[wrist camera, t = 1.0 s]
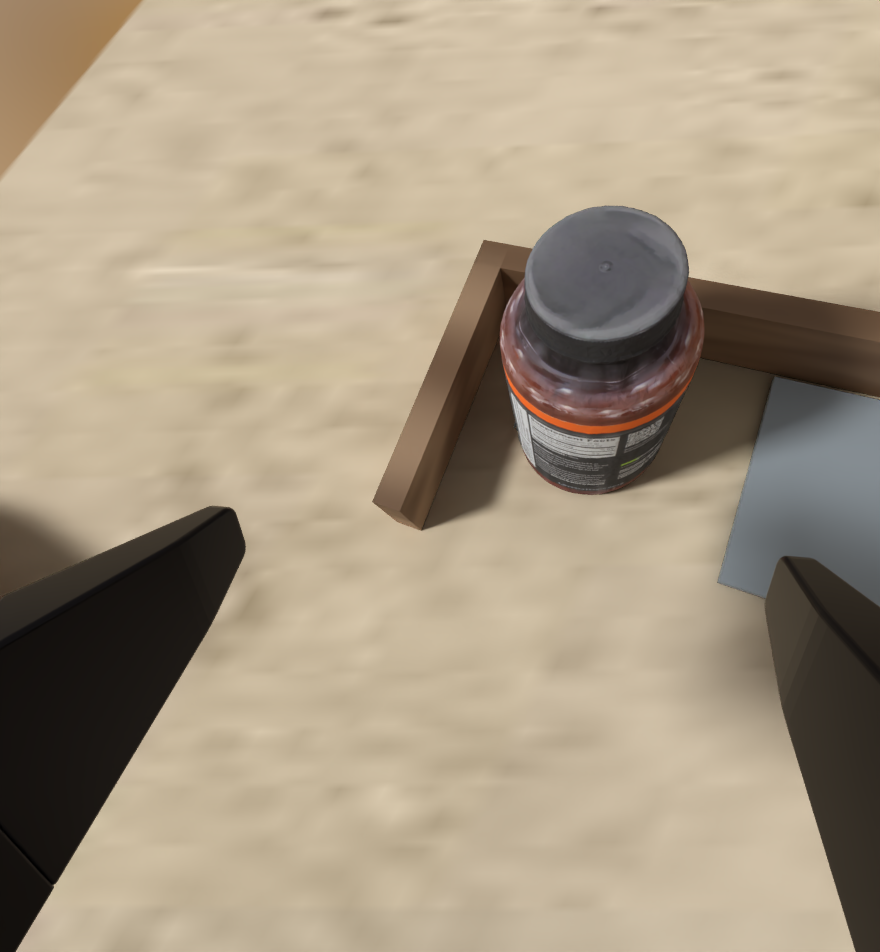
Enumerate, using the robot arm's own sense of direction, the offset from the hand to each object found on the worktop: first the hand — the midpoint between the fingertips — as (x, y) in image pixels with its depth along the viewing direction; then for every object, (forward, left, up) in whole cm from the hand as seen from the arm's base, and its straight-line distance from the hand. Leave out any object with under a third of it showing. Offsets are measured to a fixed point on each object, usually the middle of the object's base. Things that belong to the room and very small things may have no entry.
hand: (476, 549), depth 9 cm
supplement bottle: (+5, -6, -14) cm, 17 cm away
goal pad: (-4, -13, -14) cm, 20 cm away
